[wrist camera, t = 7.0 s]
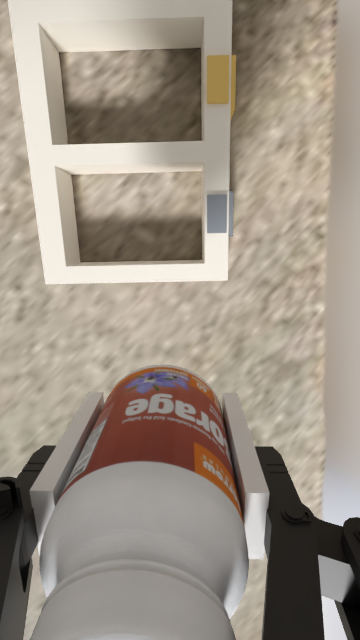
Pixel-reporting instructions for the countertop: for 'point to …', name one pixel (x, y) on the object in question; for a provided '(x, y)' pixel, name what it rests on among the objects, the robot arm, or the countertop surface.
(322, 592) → the robot arm
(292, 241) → the countertop surface
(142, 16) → the white divided tray
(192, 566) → the pill bottle
